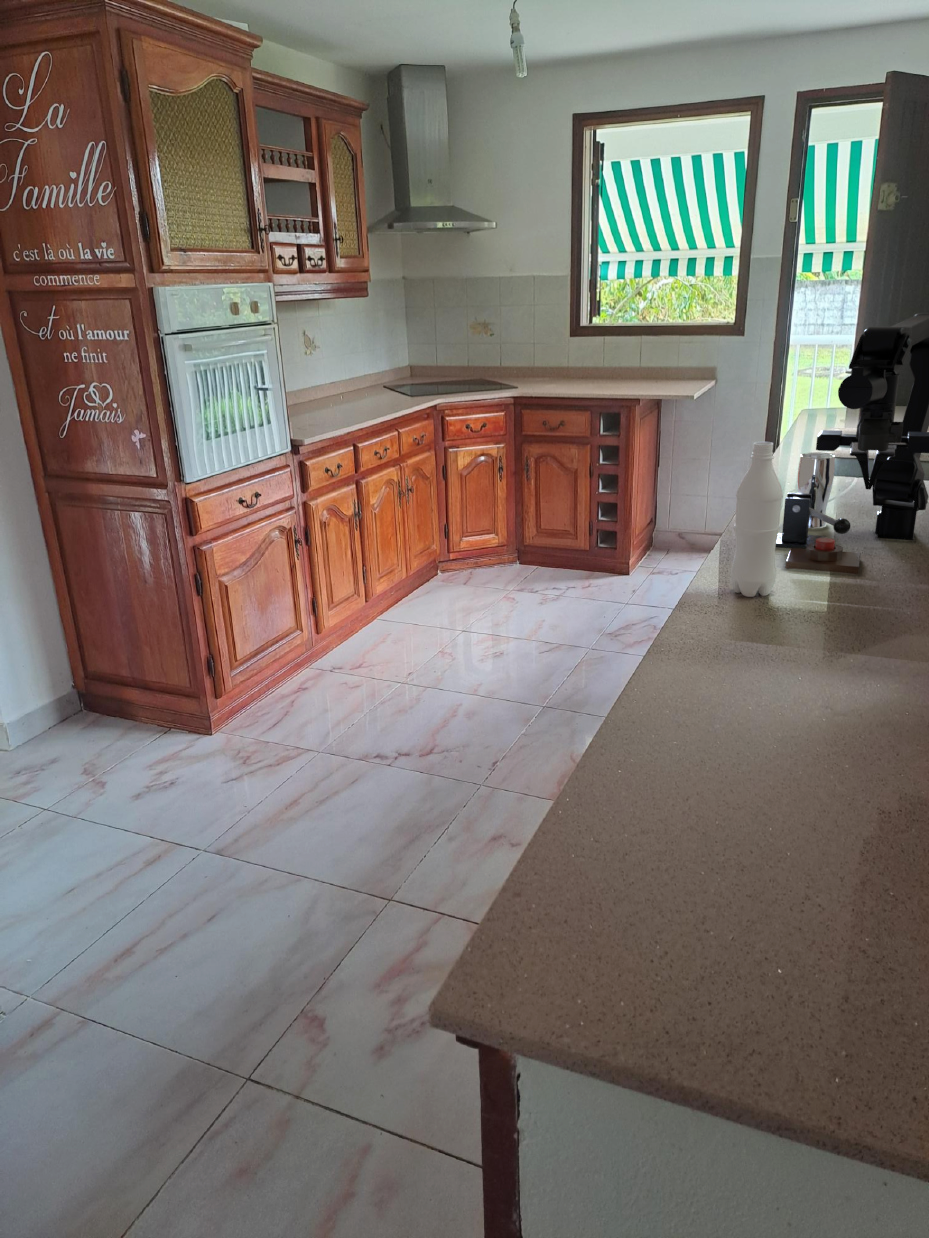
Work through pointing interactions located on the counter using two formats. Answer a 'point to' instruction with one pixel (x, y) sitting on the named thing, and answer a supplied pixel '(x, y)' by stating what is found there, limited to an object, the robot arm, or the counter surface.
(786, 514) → the black lever housing
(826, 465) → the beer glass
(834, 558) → the control block
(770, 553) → the water bottle
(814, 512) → the lever with ball knob
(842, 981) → the counter surface
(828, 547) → the red push button
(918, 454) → the robot arm
